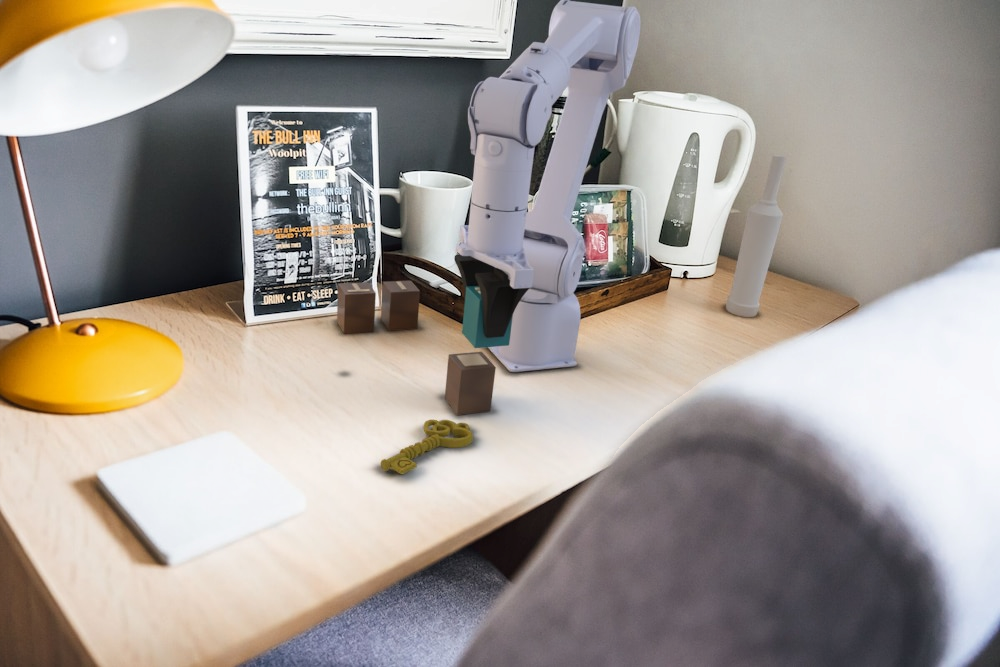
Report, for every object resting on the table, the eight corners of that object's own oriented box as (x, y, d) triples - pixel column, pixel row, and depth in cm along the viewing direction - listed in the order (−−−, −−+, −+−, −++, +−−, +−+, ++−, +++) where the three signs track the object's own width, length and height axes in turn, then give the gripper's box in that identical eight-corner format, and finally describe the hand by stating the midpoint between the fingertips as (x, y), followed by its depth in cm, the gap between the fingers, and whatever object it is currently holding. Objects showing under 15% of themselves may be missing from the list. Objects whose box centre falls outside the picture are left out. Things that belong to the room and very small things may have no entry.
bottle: (722, 303, 127) (759, 150, 117) (754, 308, 126) (793, 155, 116) (726, 314, 122) (765, 156, 112) (759, 319, 121) (801, 161, 112)
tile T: (366, 320, 105) (367, 281, 102) (374, 331, 101) (375, 292, 99) (336, 321, 103) (337, 282, 101) (343, 334, 100) (345, 293, 97)
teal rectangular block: (495, 330, 86) (500, 283, 84) (509, 345, 83) (515, 297, 80) (461, 333, 84) (466, 285, 82) (474, 348, 81) (479, 299, 79)
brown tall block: (477, 394, 88) (481, 350, 86) (490, 411, 85) (496, 366, 83) (444, 398, 87) (448, 353, 85) (457, 415, 84) (461, 369, 81)
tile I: (408, 317, 107) (411, 279, 105) (417, 328, 104) (420, 289, 101) (380, 319, 105) (382, 280, 103) (388, 330, 102) (390, 291, 100)
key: (400, 470, 71) (363, 447, 73) (399, 481, 71) (363, 459, 74) (483, 429, 79) (448, 410, 82) (482, 439, 80) (447, 420, 83)
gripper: (437, 185, 82) (428, 304, 87) (491, 225, 70) (477, 360, 75) (497, 186, 85) (485, 300, 90) (559, 224, 73) (541, 353, 78)
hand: (485, 327), depth 83 cm, fingers closed on teal rectangular block, 4 cm apart
